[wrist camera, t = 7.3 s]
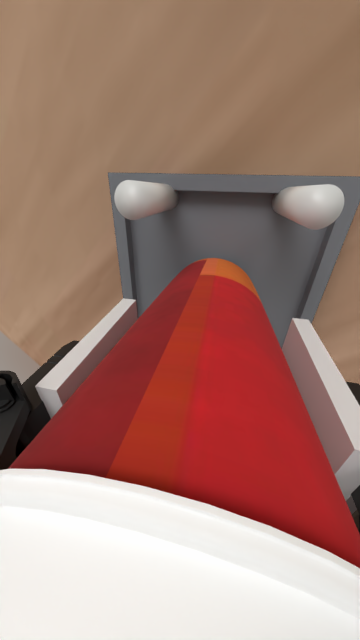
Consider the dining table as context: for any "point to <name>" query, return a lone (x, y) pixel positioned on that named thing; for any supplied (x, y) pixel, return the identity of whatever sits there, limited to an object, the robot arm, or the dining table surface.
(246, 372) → the coffee cup
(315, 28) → the dining table surface
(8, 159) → the dining table surface
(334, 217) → the tray
